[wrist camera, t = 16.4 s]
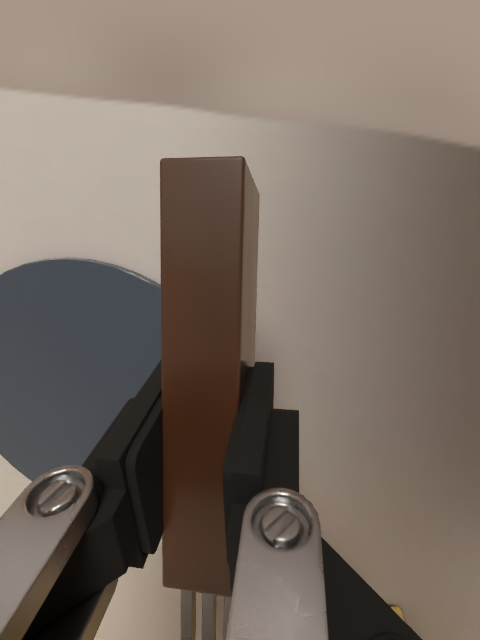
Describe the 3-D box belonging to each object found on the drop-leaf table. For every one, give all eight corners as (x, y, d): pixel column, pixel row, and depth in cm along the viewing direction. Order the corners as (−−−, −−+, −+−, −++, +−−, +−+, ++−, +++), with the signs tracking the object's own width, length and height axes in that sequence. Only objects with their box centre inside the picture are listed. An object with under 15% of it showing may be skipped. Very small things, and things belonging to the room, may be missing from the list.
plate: (-86, 255, 20) (-93, 257, 19) (246, 259, 17) (245, 261, 17) (8, 497, 27) (4, 501, 27) (250, 526, 25) (249, 532, 24)
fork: (184, 664, 13) (148, 794, 9) (186, 193, 10) (140, 158, 7) (256, 678, 12) (244, 819, 9) (273, 192, 10) (264, 154, 7)
